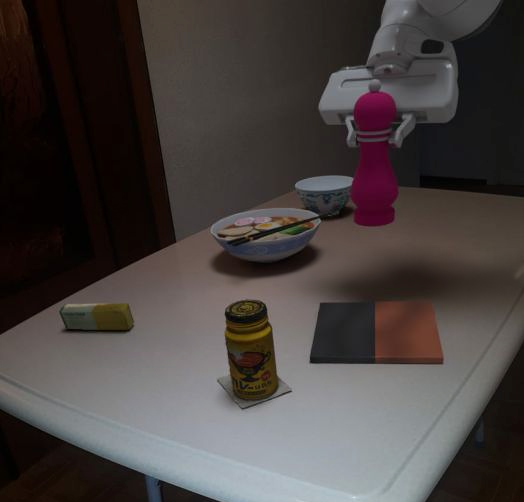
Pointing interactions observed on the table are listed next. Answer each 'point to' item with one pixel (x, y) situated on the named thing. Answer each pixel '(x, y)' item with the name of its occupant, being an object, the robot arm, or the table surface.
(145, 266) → the table surface
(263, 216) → the ramen bowl
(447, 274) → the table surface
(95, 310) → the medication box
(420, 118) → the robot arm
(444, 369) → the table surface
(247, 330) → the condiment
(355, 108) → the pepper mill
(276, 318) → the table surface
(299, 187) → the chinaware
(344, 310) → the sorting board
